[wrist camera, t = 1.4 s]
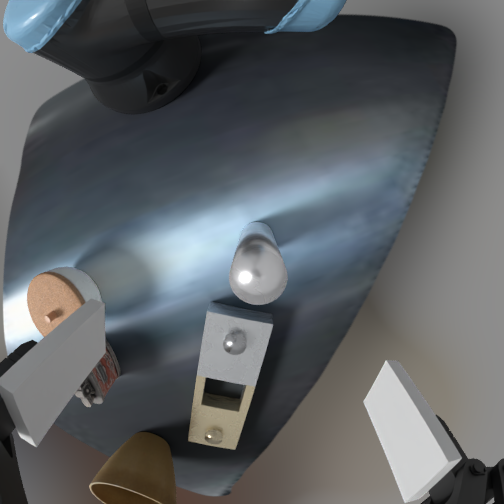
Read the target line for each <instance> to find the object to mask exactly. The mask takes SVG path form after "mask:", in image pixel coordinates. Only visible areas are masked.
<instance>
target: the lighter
mask: <svg viewBox="0 0 504 504" xmlns="http://www.w3.org/2000/svg"><path fill="white" fill-rule="evenodd" d="M105 344H106V353H105V354H104V355H103V357H102V358H101V359H100V361H99V362H98V363H97V364H96V366H95V367H94V368H93V370H92V371H91V372H90V374H89V375H88V376H87V377H86V379H85V380H84V381H83V383H82V384H81V385H80V387H79V388H78V389H77V391H76V392H75V395H76V396H77V397H80V398H81V400H82V401H83V403H84V405H85V406H87V407H91V405H92V404H93V403H96V404H101V403H102V402H103V401H104V399H105V398H104V397H105V395H106V394H107V392H108V391H109V389H110V387H111V386H112V384H113V383H114V381H115V380H116V379H117V378H118V377H119V376H120V374H121V371H120V367H119V364H118V361H117V358H116V356H115V354H114V352H113V350H112V348H111V346H110V344H109V343H108V341H107V339H106V338H105Z"/></svg>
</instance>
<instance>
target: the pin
mask: <svg viewBox="0 0 504 504" xmlns="http://www.w3.org/2000/svg"><path fill="white" fill-rule="evenodd" d="M229 282H230V286H231V288H232V290H233V292H234V293H235V295H236V296H237V297H238V298H240V299H241V300H242V301H244V302H246V303H249V304H254V305H263V304H267V303H270V302H272V301H274V300H275V299H277V298H278V297H279V296H280V295H281V294H282V292H283V291H284V289H285V287H286V284H287V271H286V267H285V265H284V262H283V259H282V256H281V254H280V251H279V248H278V246H277V243H276V240H275V237H274V235H273V232H272V230H271V229H270V227H269V226H268V225H266V224H265V223H262V222H251V223H249V224H247V225H246V226H245V227H244V228H243V230H242V231H241V234H240V238H239V241H238V245H237V248H236V252H235V255H234V258H233V262H232V265H231V269H230V273H229Z"/></svg>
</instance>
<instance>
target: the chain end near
mask: <svg viewBox="0 0 504 504" xmlns="http://www.w3.org/2000/svg"><path fill="white" fill-rule="evenodd" d="M272 327H273V318H272V314H270V313H265V312H259V311H254V310H249V309H244V308H239V307H234V306H229V305H225V304H220V303H215V302H210V305H209V308H208V310H207V315H206V321H205V327H204V333H203V340H202V346H201V352H200V359H199V365H198V372H197V375H198V376H202V377H206V378H212V379H217V380H222V381H227V382H232V383H238V384H243V385H244V386H243V390H242V393H241V397H240V402H241V398H242V394H243V391H244V387H245V385H249V386H256V383H257V379H258V376H259V373H260V369H261V366H262V362H263V359H264V356H265V352H266V349H267V345H268V342H269V338H270V335H271V331H272ZM205 383H206V381H205ZM204 389H205V387H204ZM203 394H204V393H203Z"/></svg>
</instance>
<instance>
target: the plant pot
mask: <svg viewBox="0 0 504 504" xmlns="http://www.w3.org/2000/svg"><path fill="white" fill-rule="evenodd" d="M89 488H90V490H91V492H92V493H93V494H94V495H95V496H96V497H97V498H98V499H99V500H100V501H102V502H103V503H105V504H176V484H175V474H174V467H173V461H172V456H171V451H170V447H169V445H168V443H167V442H166V441H165V440H164V439H163V438H161V437H159V436H157V435H155V434H152V433H148V432H138V433H136V434H135V435H133V436H132V437H131V438H130V439H129V440H127V441H126V442H125V443H124V444H123V445H122V446H121V447H120V448H119V449H118V450H117V451H116V452H115V453H114V454H113V455H112V456H111V457H110V459H109V460H108V461H107V462H106V463H105V464H104V466H103V467H102V468H101V469H100V471H99V472H98V473H97V475H96V476H95V478H94V479H93V481H92V482H91V484H90V486H89Z"/></svg>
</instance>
